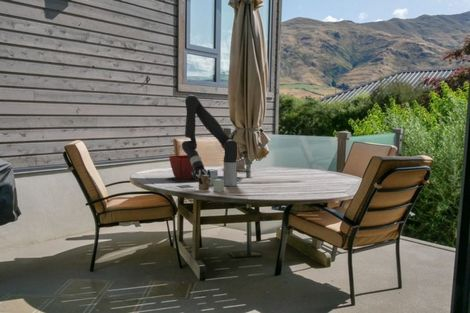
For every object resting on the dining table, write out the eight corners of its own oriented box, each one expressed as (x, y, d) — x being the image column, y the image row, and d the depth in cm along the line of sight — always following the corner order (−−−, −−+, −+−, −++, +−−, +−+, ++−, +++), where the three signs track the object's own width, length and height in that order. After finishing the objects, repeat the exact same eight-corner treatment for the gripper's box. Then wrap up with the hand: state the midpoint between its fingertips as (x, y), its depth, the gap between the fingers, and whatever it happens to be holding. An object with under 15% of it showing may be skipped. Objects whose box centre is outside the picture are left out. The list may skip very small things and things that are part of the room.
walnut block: (205, 188, 295) (205, 174, 294) (208, 190, 291) (209, 175, 289) (198, 189, 292) (198, 174, 291) (202, 190, 288) (202, 175, 287)
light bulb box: (211, 183, 321) (211, 168, 320) (217, 184, 316) (218, 169, 315) (201, 184, 312) (201, 170, 311) (207, 186, 308) (208, 171, 307)
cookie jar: (249, 171, 387) (250, 135, 383) (221, 170, 386) (222, 135, 383) (247, 167, 411) (248, 134, 408) (222, 167, 411) (222, 133, 407)
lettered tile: (206, 188, 298) (206, 188, 297) (212, 190, 290) (212, 190, 290) (194, 189, 293) (194, 189, 293) (201, 192, 285) (201, 191, 285)
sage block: (218, 190, 292) (218, 178, 291) (223, 191, 289) (224, 179, 288) (213, 191, 288) (213, 179, 287) (218, 192, 285) (219, 180, 284)
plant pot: (180, 180, 330) (180, 158, 328) (168, 176, 345) (168, 156, 343) (201, 178, 341) (201, 157, 339) (189, 175, 356) (189, 154, 355)
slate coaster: (187, 185, 307) (187, 184, 307) (193, 187, 300) (193, 186, 300) (176, 186, 302) (176, 185, 302) (182, 188, 295) (182, 187, 295)
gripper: (189, 160, 291) (197, 181, 283) (207, 159, 299) (216, 179, 291) (185, 167, 296) (193, 187, 288) (204, 166, 304) (212, 185, 296)
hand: (205, 183), depth 289 cm, fingers closed on walnut block, 5 cm apart
